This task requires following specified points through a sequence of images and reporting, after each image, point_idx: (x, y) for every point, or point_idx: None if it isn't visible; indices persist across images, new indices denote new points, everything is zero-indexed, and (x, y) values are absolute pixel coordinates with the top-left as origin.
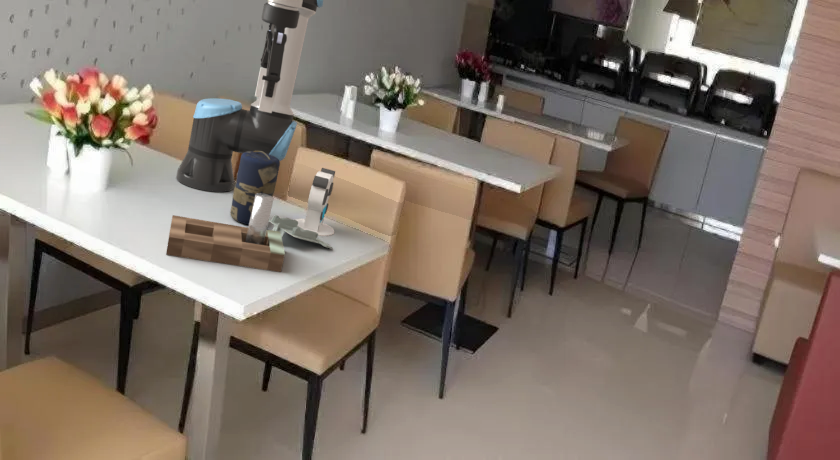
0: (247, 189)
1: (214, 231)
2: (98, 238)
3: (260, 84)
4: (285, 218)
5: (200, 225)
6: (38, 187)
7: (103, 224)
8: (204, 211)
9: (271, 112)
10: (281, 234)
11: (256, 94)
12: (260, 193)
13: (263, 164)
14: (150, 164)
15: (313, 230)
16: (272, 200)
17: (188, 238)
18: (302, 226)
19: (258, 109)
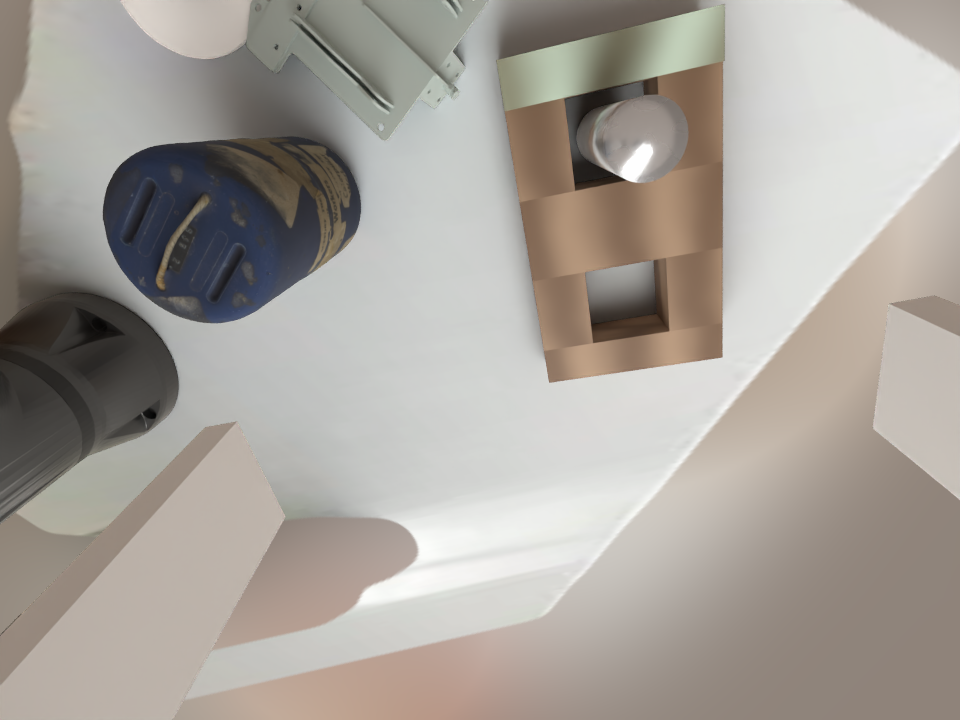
0: (326, 237)
1: (614, 264)
2: (671, 466)
3: (207, 603)
4: (337, 64)
5: (587, 307)
6: (454, 600)
7: (583, 477)
8: (332, 321)
9: (939, 299)
10: (451, 60)
11: (273, 524)
12: (613, 164)
13: (268, 216)
14: (104, 491)
15: None
16: (665, 97)
17: (711, 314)
18: (216, 5)
19: (878, 429)
